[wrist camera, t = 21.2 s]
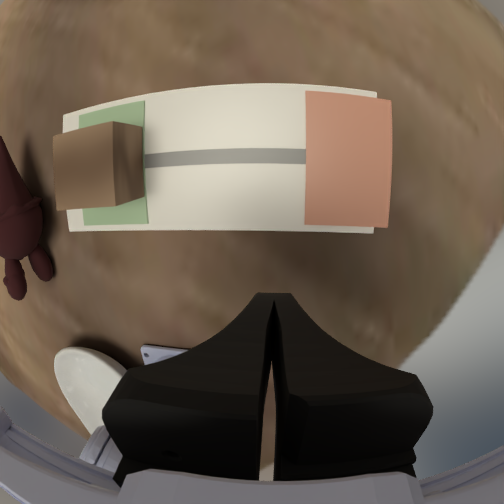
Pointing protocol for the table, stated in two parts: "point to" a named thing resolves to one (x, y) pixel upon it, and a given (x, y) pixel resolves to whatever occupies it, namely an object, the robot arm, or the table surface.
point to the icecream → (19, 228)
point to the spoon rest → (87, 381)
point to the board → (252, 159)
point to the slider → (98, 166)
